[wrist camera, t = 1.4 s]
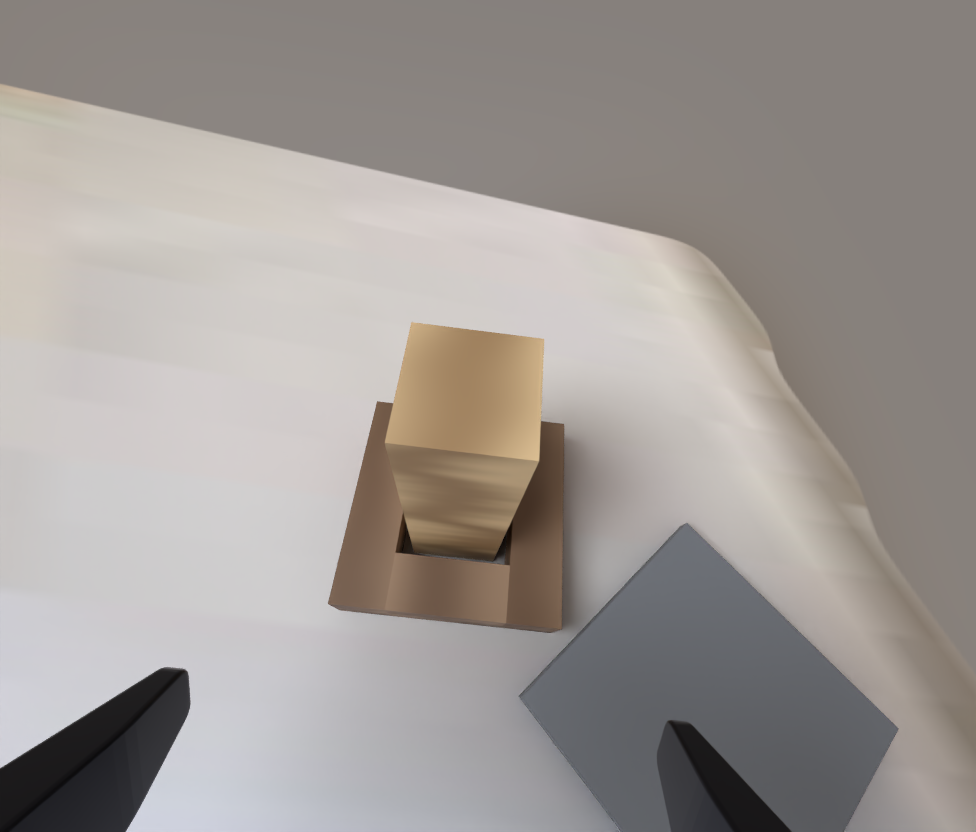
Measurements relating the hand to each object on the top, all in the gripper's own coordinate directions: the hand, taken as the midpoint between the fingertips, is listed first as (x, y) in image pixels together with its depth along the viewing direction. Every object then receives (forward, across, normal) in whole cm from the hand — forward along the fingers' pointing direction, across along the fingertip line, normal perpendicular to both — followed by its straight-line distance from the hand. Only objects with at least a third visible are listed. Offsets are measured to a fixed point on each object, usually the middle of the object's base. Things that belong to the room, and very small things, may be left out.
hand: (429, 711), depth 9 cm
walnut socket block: (+15, 0, +4) cm, 16 cm away
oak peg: (+15, 0, +4) cm, 16 cm away
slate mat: (+10, -12, +10) cm, 18 cm away
